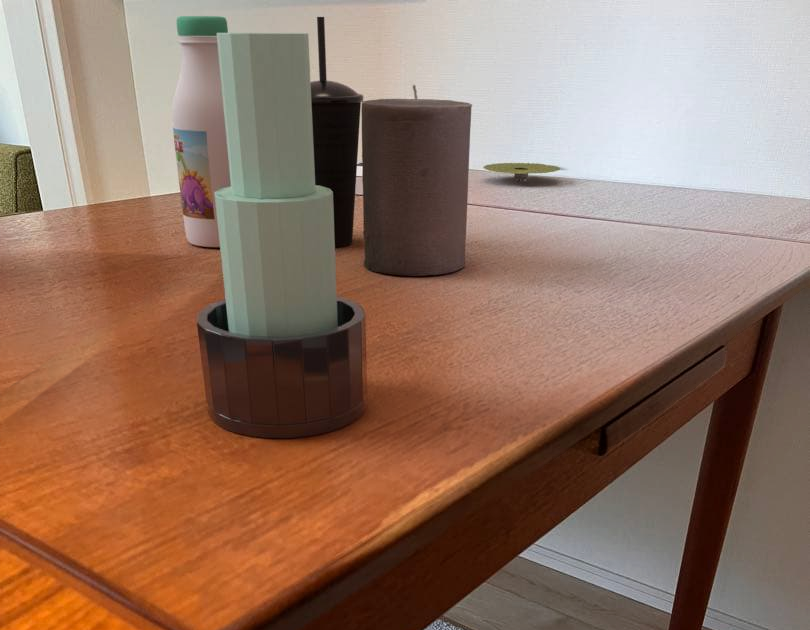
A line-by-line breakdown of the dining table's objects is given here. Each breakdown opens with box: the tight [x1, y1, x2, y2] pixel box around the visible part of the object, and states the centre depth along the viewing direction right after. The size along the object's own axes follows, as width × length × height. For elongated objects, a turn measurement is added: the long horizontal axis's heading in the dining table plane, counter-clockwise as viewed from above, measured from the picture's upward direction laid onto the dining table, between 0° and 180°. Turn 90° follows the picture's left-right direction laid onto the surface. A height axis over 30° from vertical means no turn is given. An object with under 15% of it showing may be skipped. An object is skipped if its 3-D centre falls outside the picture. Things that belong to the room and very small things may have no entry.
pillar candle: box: [360, 84, 473, 277], centre depth 76 cm, size 10×10×15 cm
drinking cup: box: [310, 16, 365, 248], centre depth 82 cm, size 8×8×20 cm
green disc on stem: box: [482, 162, 561, 183], centre depth 124 cm, size 11×11×2 cm
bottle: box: [214, 32, 338, 337], centre depth 44 cm, size 6×6×18 cm
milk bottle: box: [171, 15, 231, 248], centre depth 83 cm, size 8×8×20 cm
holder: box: [196, 295, 368, 439], centre depth 48 cm, size 9×9×6 cm
